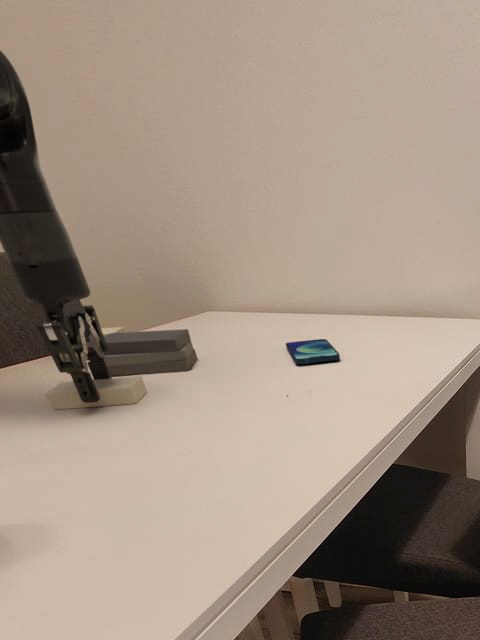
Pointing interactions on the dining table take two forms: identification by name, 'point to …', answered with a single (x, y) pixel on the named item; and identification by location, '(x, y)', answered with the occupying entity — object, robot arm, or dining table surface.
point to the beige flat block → (108, 390)
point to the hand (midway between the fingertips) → (99, 394)
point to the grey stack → (149, 352)
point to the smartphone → (312, 351)
